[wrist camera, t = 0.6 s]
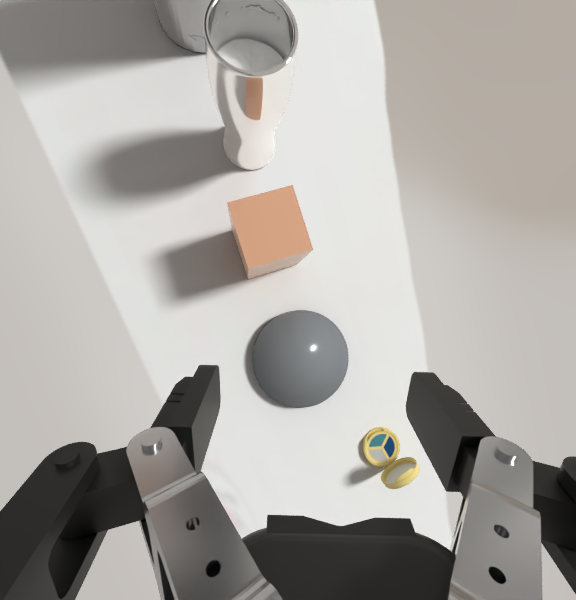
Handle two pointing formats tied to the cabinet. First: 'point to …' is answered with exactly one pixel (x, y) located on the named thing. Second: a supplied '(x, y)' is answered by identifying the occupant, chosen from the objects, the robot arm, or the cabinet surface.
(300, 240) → the peach pillar
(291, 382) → the grey round puck
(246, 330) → the cabinet surface
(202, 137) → the cabinet surface
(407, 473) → the eyeshadow
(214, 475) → the cabinet surface
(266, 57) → the beer glass
